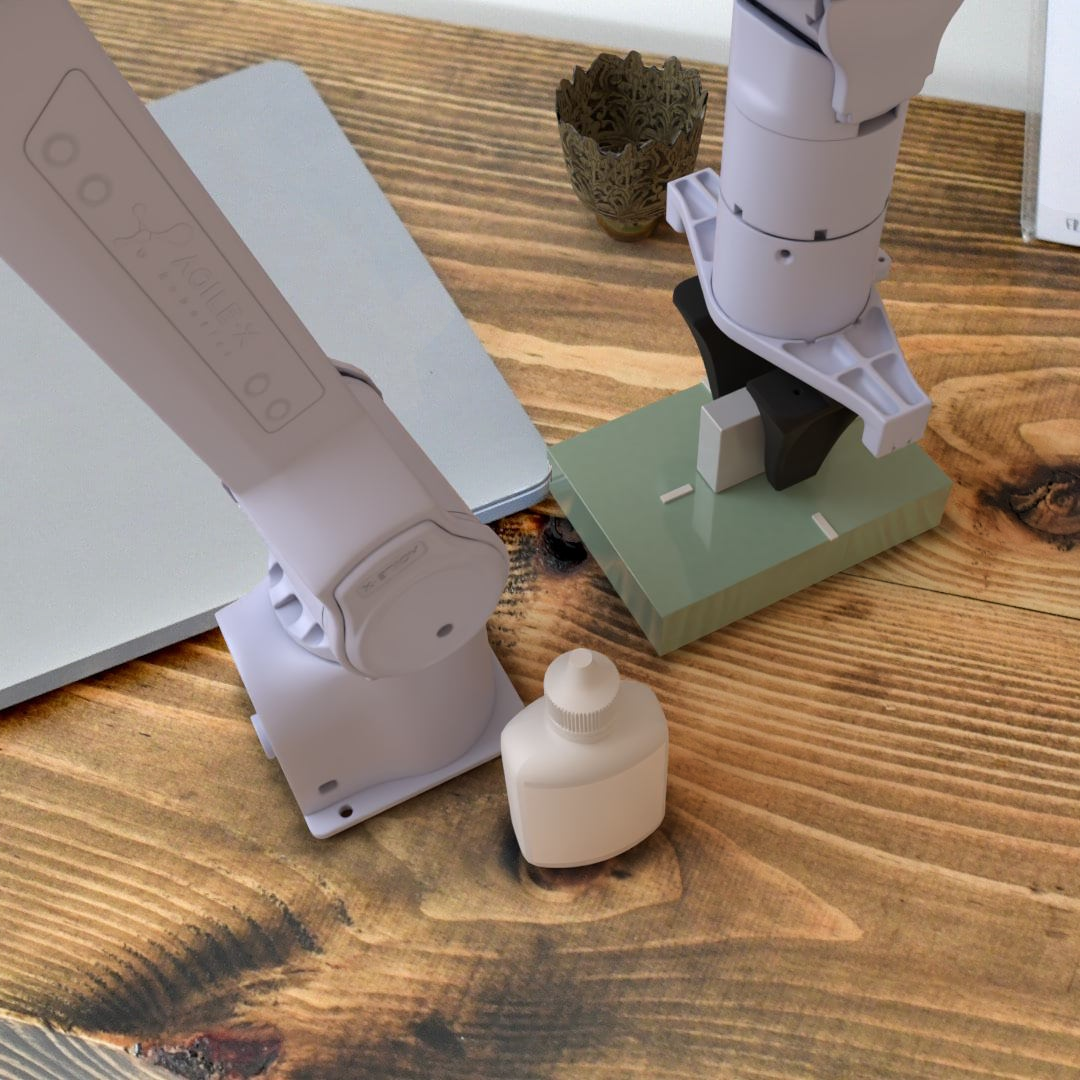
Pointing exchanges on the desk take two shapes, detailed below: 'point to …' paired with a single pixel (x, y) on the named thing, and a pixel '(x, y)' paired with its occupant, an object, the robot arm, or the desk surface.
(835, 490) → the plate
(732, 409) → the tap handle
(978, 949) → the desk surface
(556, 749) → the eye dropper bottle
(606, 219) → the cup
